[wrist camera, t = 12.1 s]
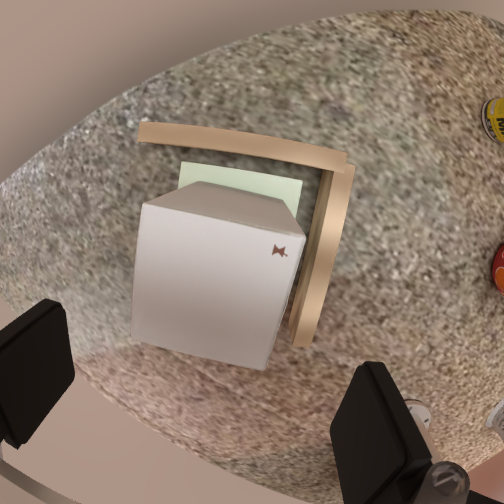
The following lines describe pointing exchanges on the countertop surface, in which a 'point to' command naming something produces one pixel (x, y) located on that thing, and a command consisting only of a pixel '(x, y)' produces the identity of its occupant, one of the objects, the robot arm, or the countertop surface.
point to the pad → (244, 182)
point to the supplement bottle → (494, 119)
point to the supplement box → (214, 272)
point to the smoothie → (499, 270)
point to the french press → (497, 419)
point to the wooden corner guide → (325, 213)
